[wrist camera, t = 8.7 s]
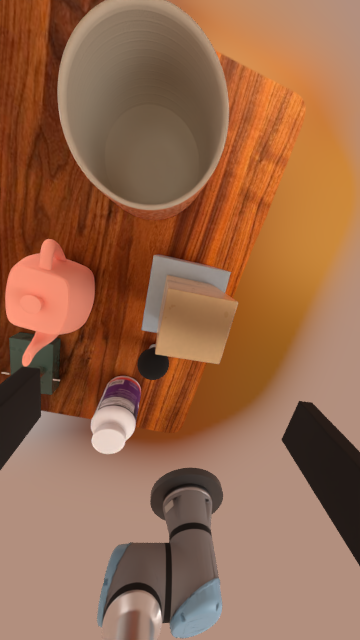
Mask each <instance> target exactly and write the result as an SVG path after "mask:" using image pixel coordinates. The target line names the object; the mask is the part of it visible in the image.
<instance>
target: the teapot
mask: <svg viewBox="0 0 360 640" xmlns="http://www.w3.org/2000/svg"><path fill="white" fill-rule="evenodd" d="M94 296H95V281H94V276H93V273H92V271H91V270H90V269H89V268H87V267H86V266H83V265H81V264H79V263H76V262H74V261H71V260H68V259H66V258H65V255H64V253H63V250H62V248H61V247H60V245H59V244H58V243H57V242H56V241H54V240H52V239H47V240H45V241H44V242H43V244H42V247H41V252H40V254H34V255H30V256H27V257H25V258H24V259H22V260H21V261H19V262H18V263H17V264H16V265H15V266H14V267H13V268H12V269H11V271H10V274H9V277H8V281H7V287H6V296H5V299H6V313H7V317H8V319H9V321H10V322H11V323H12V324H14V325H17V326H20V327H23V328H26V329H30V330H34V331H36V333H35V335H34V337H33V339H32V341H31V342H30V344H29V346H28V347H27V349H26V351H25V353H24V355H23V358H22V364H23V366H28V365H29V364H30V363H31V361H32V359H33V357H34V356H35V354H36V353H37V352H38V351H39V350H40V349H42V348H43V347H44V346H46V345H47V344H49V343H50V342H52V341H53V340H54V339H55V338H56V337H57V336H58V334H66V333H70V332H73V331H75V330H77V329H79V328H80V327H82V326H83V325H84V324H85V322H86V320H87V319H88V317H89V314H90V312H91V309H92V306H93V302H94Z"/></svg>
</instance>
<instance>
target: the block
mask: <svg viewBox="0 0 360 640" xmlns="http://www.w3.org/2000/svg"><path fill="white" fill-rule="evenodd" d="M237 305H238V302H237V301H236V300H234V299H233V298H231V297H230V296H228V295H227V294H225V293H224V292H222V291H221V290H220V289H218V288H217V287H215V286H214V285H212V284H208V283H203V282H199V281H194V280H189V279H184V278H179V277H175V276H170V275H167V277H166V282H165V287H164V292H163V298H162V303H161V308H160V313H159V319H158V329H157V339H156V349H155V354H157V355H163V356H170V357H176V358H183V359H189V360H195V361H202V362H208V363H215V364H219V363H220V360H221V357H222V353H223V351H224V347H225V344H226V341H227V338H228V334H229V331H230V328H231V324H232V321H233V318H234V315H235V311H236V308H237Z"/></svg>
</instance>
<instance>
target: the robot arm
mask: <svg viewBox="0 0 360 640" xmlns="http://www.w3.org/2000/svg"><path fill="white" fill-rule="evenodd" d="M40 417H41V384H40V369H39V368H31V367H23V366H22V367H21V368H20V369H18V370H17V371H16V372H15V373H13V374H12V375H11V376H10V377H9V378H7V379H6V380H5V381H4V382H2V383H1V384H0V470H1V469H2V467H3V466H4V465H5V463H6V462H7V461H8V459H9V458H10V456H11V455H12V454H13V453H14V451H15V450H16V449H17V447H18V446H19V445H20V443H21V442H22V441H23V439H24V438H25V436H26V435H27V434H28V433H29V431H30V430H31V429H32V427H33V426H34V425H35V423H36V422H37V421H38V419H39V418H40ZM282 441H283V443H284V444H285V446H286V448H287V449H288V451H289V452H290V454H291V456H292V457H293V459H294V461H295V462H296V464H297V465H298V467H299V468H300V470H301V472H302V474H303V475H304V477H305V478H306V480H307V481H308V483H309V484H310V486H311V488H312V490H313V491H314V493H315V495H316V496H317V498H318V499H319V501H320V502H321V504H322V506H323V507H324V509H325V511H326V512H327V514H328V515H329V517H330V519H331V520H332V522H333V524H334V525H335V527H336V528H337V530H338V532H339V533H340V535H341V536H342V538H343V540H344V541H345V543H346V545H347V546H348V548H349V549H350V551H351V552H352V554H353V556H354V557H355V559H356V561H357V562H358V564H359V566H360V452H359V451H358V450H357V449H356V448H355V447H354V446H353V444H351V442H349V440H348V439H347V438H346V437H345V436H344V435H343V434H342V433H341V432H340V431H339V430H338V429H337V428H336V427H335V426H334V425H333V424H332V423H331V422H330V421H329V420H328V419H327V418H326V417H325V416H324V415H323V414H322V413H321V412H320V411H319V410H318V408H317V407H316V406H315V405H313V403H310V402H302V401H299V403H298V405H297V407H296V410H295V412H294V414H293V416H292V418H291V420H290V423H289V425H288V427H287V429H286V432H285V434H284V436H283V438H282ZM163 512H164V516H165V520H166V523H167V527H168V531H169V537H170V538H169V540H170V541H169V543H129V544H121V545H118V546H117V547H116V548H115V549H114V551H113V553H112V555H111V558H110V560H109V563H108V566H107V570H106V574H105V578H104V583H103V587H102V591H101V595H100V601H99V607H98V616H97V622H98V625H99V626H100V627H102V638H103V640H157V639H158V637H159V634H160V630H161V625H162V623H170V629H171V633H172V635H173V636H174V637H176V638H177V637H180V638H188V637H192V636H194V635H197V634H200V633H202V632H204V631H206V630H207V629H209V628H210V627H211V626H213V625H214V624H215V623H216V622H217V620H218V619H219V617H220V615H221V611H222V599H221V592H220V580H219V577H218V571H217V565H216V559H215V553H214V547H213V541H212V536H211V529H210V526H211V514H212V499H211V495H210V492H209V491H208V490H207V489H206V488H205V487H203V486H201V485H198V484H182V485H179V486H176V487H174V488H172V489H171V490H169V491H168V492H167V493H166V495H165V496H164V499H163Z"/></svg>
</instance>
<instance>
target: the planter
mask: <svg viewBox="0 0 360 640" xmlns="http://www.w3.org/2000/svg"><path fill="white" fill-rule="evenodd" d="M58 108H59V115H60V121H61V125H62V129H63V132H64V136H65V139H66V141H67V144H68V146H69V149H70V151H71V153H72V155H73V157H74V159H75V160H76V162H77V164H78V165H79V167H80V168H81V170H82V171H83V173H84V174H85V175H86V176H87V178H88V179H89V180H90V181H91V182H92V183H93V184H94V185H95V186H96V187H97V188H98V189H99V190H100V191H101V192H102V193H103V194H104V195H105V196H107V197H108V198H109V199H110V200H112V201H113V202H114V203H115V204H116V205H118V206H119V207H120V208H122V209H123V210H125V211H126V212H128V213H130V214H132V215H134V216H136V217H139V218H143V219H147V220H162V219H167V218H170V217H173V216H175V215H177V214H179V213H180V212H182V211H183V210H185V209H186V208H187V207H188V206H189V205H190V204H191V203H192V202H193V201H194V200H195V199H196V197H197V196H198V195H199V193H200V192H201V190H202V189H203V188H204V186H205V185H206V184H207V182H208V181H209V179H210V178H211V176H212V174H213V173H214V171H215V169H216V167H217V165H218V163H219V160H220V158H221V155H222V153H223V150H224V146H225V142H226V138H227V132H228V125H229V99H228V91H227V85H226V81H225V77H224V73H223V70H222V67H221V64H220V61H219V59H218V56H217V54H216V52H215V50H214V48H213V46H212V44H211V42H210V41H209V39H208V38H207V36H206V35H205V34H204V32H203V31H202V29H201V28H200V27H199V26H198V24H197V23H196V22H195V21H194V20H193V19H192V18H191V17H190V16H189V15H188V14H186V13H185V12H184V11H183V10H182V9H180V8H179V7H177V6H176V5H174V4H172V3H171V2H169V1H166V0H105V1H103V2H102V3H100V4H98V5H97V6H96V7H94V8H93V9H92V10H91V11H89V12H88V13H87V14H86V15H85V16H84V17H83V19H82V20H81V21H80V22H79V24H78V25H77V26H76V28H75V29H74V31H73V33H72V34H71V36H70V38H69V40H68V43H67V45H66V47H65V50H64V53H63V56H62V60H61V64H60V69H59V76H58Z"/></svg>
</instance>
